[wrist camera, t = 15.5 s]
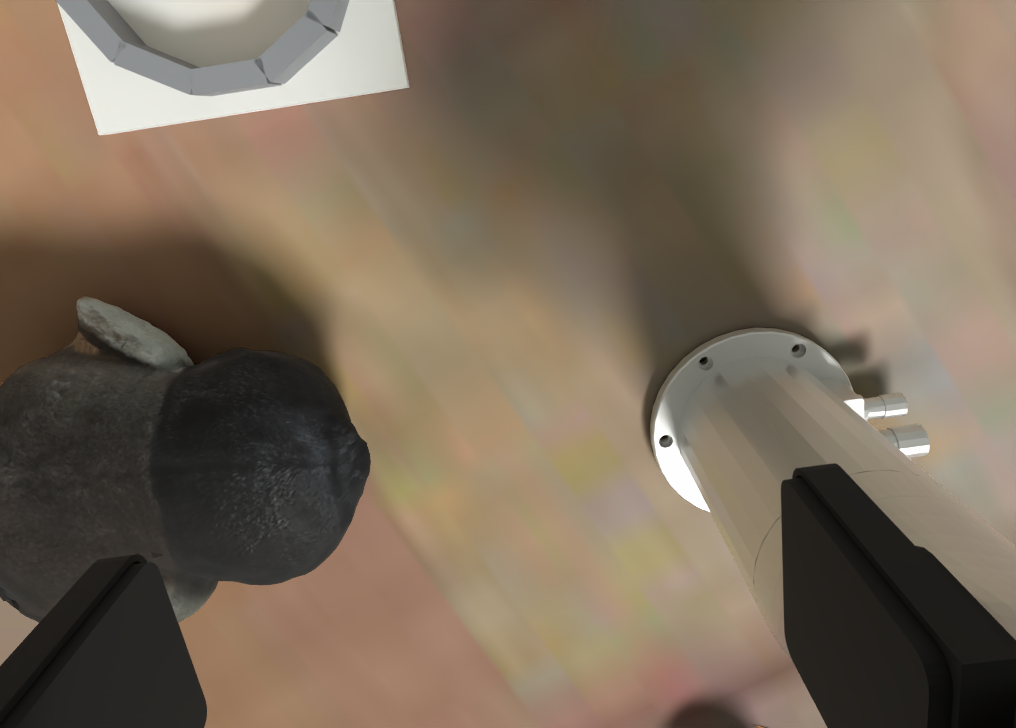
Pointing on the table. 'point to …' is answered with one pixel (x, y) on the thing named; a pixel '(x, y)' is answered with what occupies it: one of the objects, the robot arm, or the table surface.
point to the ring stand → (227, 56)
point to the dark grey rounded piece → (169, 464)
